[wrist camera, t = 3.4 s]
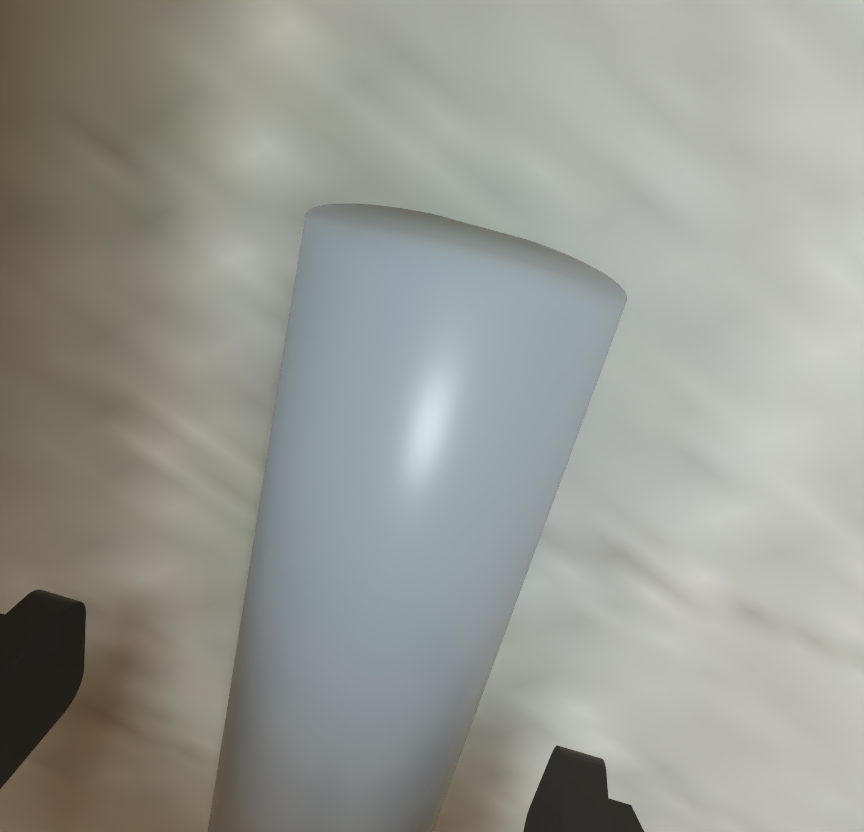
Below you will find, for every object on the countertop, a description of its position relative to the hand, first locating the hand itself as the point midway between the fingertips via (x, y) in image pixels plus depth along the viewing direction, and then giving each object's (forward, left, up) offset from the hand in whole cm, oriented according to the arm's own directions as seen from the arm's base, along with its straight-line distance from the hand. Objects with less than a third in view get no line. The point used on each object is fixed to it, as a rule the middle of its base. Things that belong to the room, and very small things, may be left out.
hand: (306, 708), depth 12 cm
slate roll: (-1, 0, -5) cm, 5 cm away
